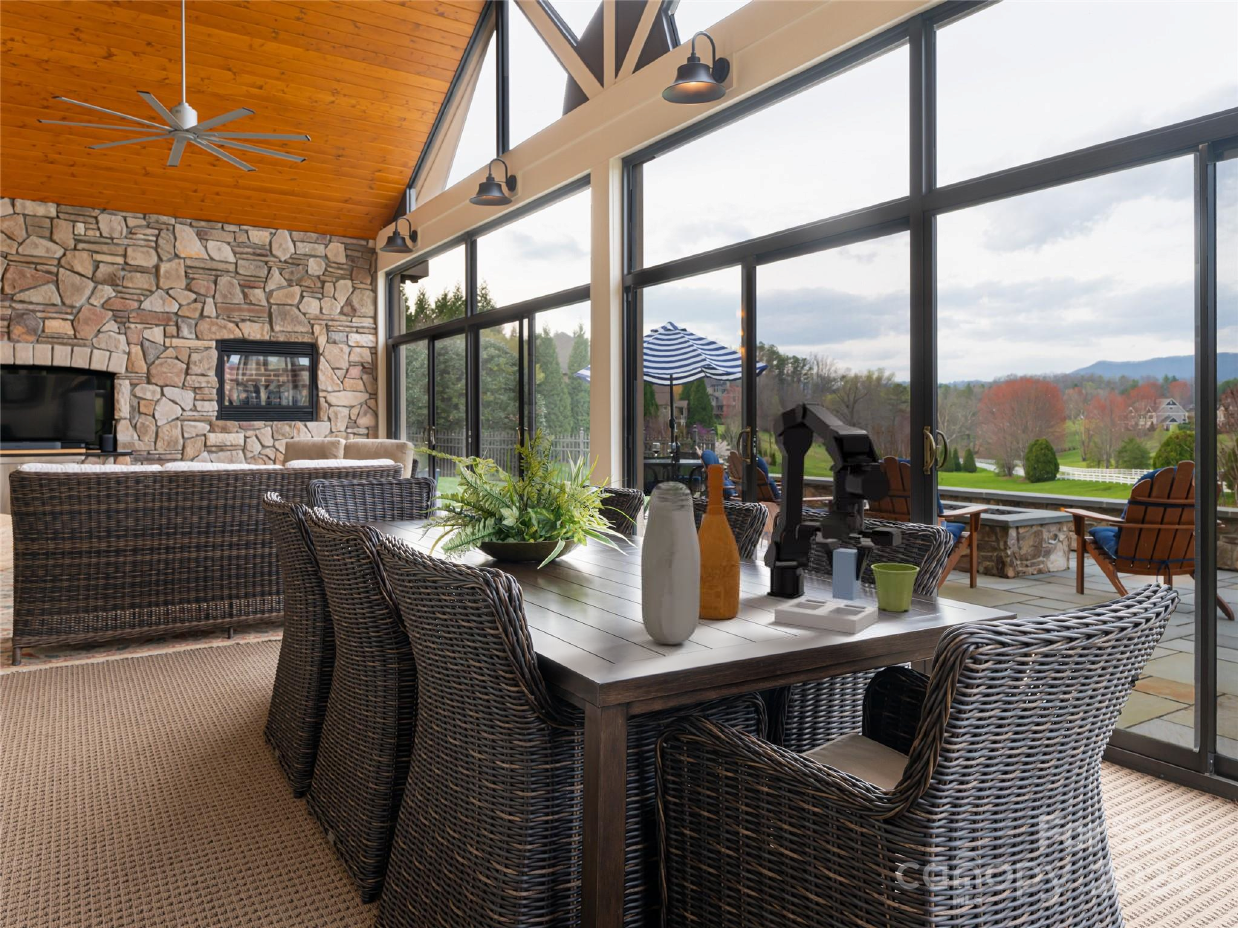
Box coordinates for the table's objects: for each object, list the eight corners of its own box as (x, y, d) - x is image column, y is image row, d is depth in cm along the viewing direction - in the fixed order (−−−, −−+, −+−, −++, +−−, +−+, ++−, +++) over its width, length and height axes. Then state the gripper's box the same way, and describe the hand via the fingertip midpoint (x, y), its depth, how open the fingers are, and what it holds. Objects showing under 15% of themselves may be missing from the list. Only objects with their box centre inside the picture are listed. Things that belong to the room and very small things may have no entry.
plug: (832, 598, 163) (833, 550, 162) (841, 593, 167) (842, 547, 166) (852, 600, 160) (853, 552, 160) (861, 596, 164) (862, 549, 164)
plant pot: (921, 614, 172) (922, 571, 171) (872, 612, 173) (873, 569, 173) (914, 605, 181) (915, 564, 180) (868, 603, 183) (869, 562, 182)
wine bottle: (743, 611, 174) (745, 463, 172) (734, 622, 164) (735, 465, 163) (696, 608, 177) (697, 462, 175) (684, 618, 168) (685, 464, 166)
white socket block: (774, 621, 165) (774, 607, 165) (799, 610, 175) (800, 597, 175) (855, 633, 156) (855, 618, 156) (877, 621, 166) (878, 607, 166)
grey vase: (704, 649, 145) (705, 483, 144) (643, 650, 144) (644, 483, 143) (694, 634, 155) (695, 479, 154) (638, 635, 154) (638, 479, 153)
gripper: (784, 497, 161) (783, 580, 162) (883, 503, 150) (881, 591, 151) (808, 493, 170) (806, 571, 171) (903, 498, 159) (901, 582, 160)
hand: (846, 579), depth 163 cm, fingers closed on plug, 4 cm apart
